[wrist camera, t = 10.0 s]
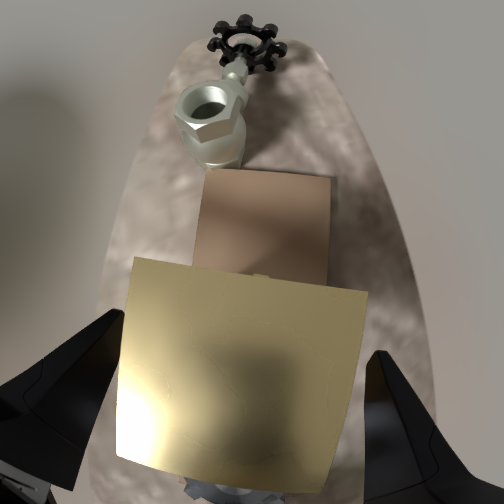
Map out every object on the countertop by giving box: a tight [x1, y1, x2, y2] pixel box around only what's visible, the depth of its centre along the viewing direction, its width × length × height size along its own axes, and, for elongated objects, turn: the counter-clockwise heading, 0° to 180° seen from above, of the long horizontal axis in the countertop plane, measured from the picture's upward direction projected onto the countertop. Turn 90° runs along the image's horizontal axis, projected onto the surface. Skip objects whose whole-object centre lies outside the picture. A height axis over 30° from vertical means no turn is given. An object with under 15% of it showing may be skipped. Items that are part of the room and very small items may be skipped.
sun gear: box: [184, 477, 285, 504], centre depth 14 cm, size 8×8×4 cm
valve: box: [174, 14, 287, 171], centre depth 18 cm, size 7×7×12 cm
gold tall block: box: [117, 257, 368, 494], centre depth 11 cm, size 7×7×12 cm
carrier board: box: [179, 168, 331, 496], centre depth 18 cm, size 24×9×1 cm, turn 174°
